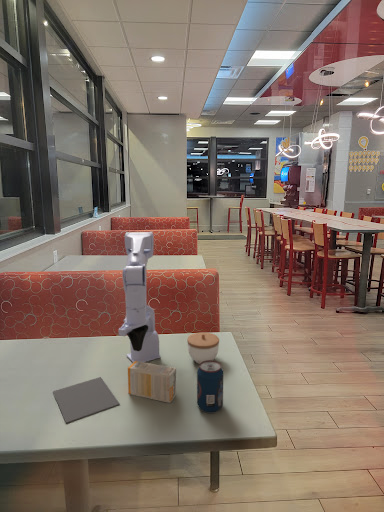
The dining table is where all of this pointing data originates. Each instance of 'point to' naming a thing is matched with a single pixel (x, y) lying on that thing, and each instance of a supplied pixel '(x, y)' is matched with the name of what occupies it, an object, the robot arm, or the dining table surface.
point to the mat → (84, 399)
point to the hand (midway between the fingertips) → (137, 349)
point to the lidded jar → (203, 346)
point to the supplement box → (152, 381)
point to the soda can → (210, 386)
